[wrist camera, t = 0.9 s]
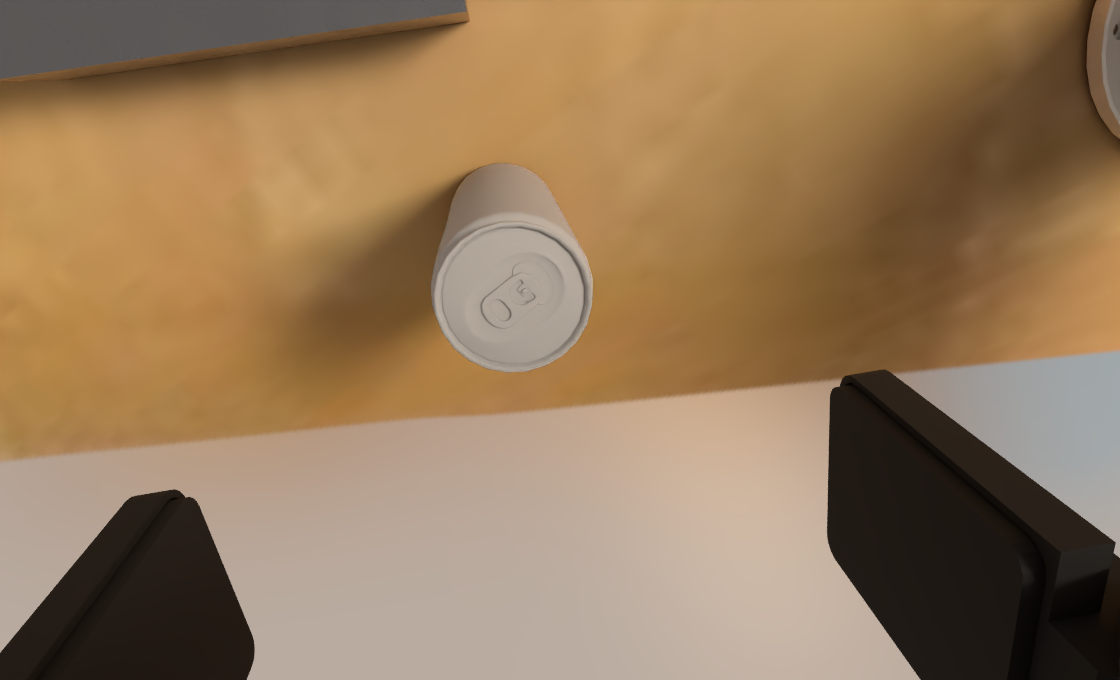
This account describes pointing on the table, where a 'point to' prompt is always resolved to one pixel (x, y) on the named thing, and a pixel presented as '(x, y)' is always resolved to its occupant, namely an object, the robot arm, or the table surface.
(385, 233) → the table surface
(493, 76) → the table surface
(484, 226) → the beverage can
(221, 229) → the table surface
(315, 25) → the socket block
